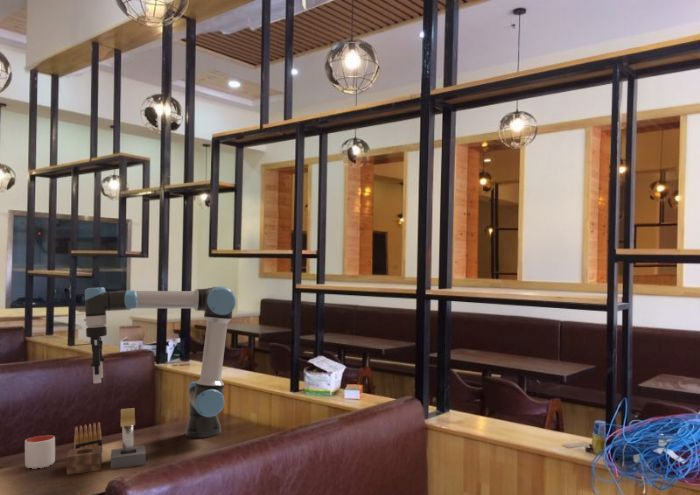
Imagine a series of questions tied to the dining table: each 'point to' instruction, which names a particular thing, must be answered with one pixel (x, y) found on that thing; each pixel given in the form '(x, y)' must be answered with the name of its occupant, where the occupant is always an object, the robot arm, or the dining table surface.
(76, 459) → the frame
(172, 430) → the dining table surface
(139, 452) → the socket block
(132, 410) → the latch
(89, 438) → the ammunition clip
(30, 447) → the cup
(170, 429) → the dining table surface
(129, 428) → the peg
